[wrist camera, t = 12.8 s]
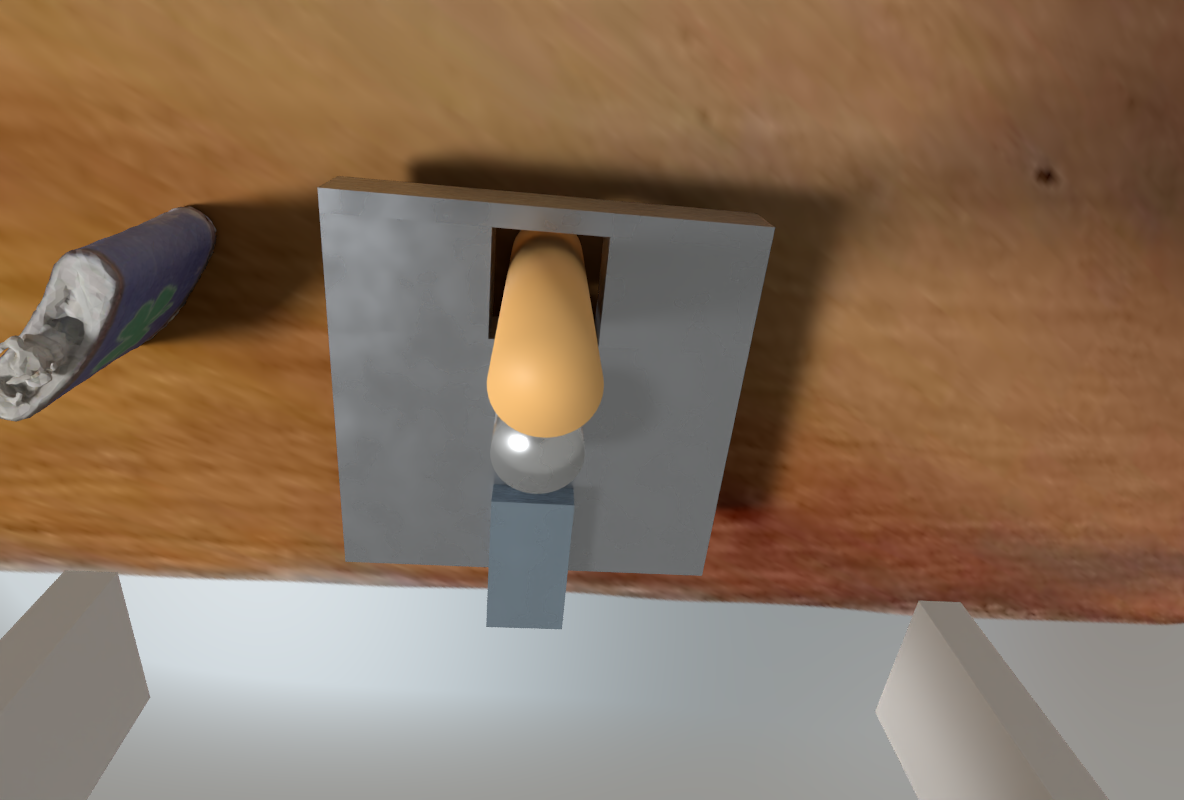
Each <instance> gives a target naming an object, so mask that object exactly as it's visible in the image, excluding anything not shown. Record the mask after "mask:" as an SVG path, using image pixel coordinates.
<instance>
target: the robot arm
mask: <svg viewBox="0 0 1184 800" xmlns="http://www.w3.org/2000/svg"><path fill="white" fill-rule="evenodd" d="M149 698H150V695H149V691H148V687H147V684H146V680H145V676H144V672H143V668H142V664H141V661H140V657H139V653H138V649H137V645H136V642H135V638H134V634H133V630H132V626H131V622H130V618H129V614H128V611H127V607H126V603H125V599H124V595H123V592H122V588H121V584H120V580H119V576H118V572H93V571H64V572H63V573H62V574H61V575H60V577H59V578H58V579H57V580H56V581H55V582H54V583H53V584H52V585H51V586H50V587H49V588H48V589H47V590H46V592H45V593H44V594H43V595H42V596H41V597H40V598H39V599H38V600H37V601H36V602H35V603H34V604H33V606H31V608H30V609H29V610H28V611H27V612H26V613H25V614H24V615H23V616H22V617H21V618H20V619H19V620H18V621H17V622H16V624H15V625H14V626H13V627H12V628H11V629H10V630H9V631H8V632H7V633H6V634H5V635H4V636H3V638H1V640H0V800H87V798H88V797H89V795H90V794H91V792H92V790H93V789H94V787H95V785H96V784H97V782H98V780H99V779H100V777H101V776H102V774H103V773H104V771H105V769H106V768H107V766H108V764H109V762H110V761H111V760H112V758H113V756H114V755H115V753H116V752H117V750H118V748H119V747H120V745H121V743H122V742H123V740H124V739H125V737H126V735H127V734H128V732H129V731H130V729H131V727H132V726H133V724H134V723H135V721H136V719H137V718H138V716H139V714H140V713H141V711H142V710H143V708H144V706H145V705H146V703H147V701H148V700H149ZM875 713H876V715H877V717H878V718H879V720H880V723H881V724H882V727H883V728H884V731H885V733H886V735H887V737H888V739H889V741H890V743H891V745H892V747H893V749H894V751H895V753H896V755H897V757H898V759H899V761H900V763H901V765H902V767H903V769H904V771H905V773H906V775H907V777H908V779H909V781H910V783H911V785H912V787H913V789H914V791H915V793H916V795H917V797H918V799H919V800H1109V799H1108V798H1107V796H1106V795H1105V794H1104V792H1103V791H1102V790H1101V788H1100V787H1099V786H1098V784H1097V783H1096V782H1095V780H1094V779H1093V778H1092V777H1091V775H1090V774H1089V772H1088V771H1087V770H1086V768H1085V767H1084V766H1083V764H1081V762H1080V761H1079V759H1078V758H1077V757H1076V755H1075V754H1074V753H1073V751H1072V750H1071V749H1070V747H1069V746H1068V745H1067V743H1066V742H1065V741H1064V739H1063V738H1062V737H1061V735H1060V734H1059V733H1058V731H1057V730H1056V729H1055V727H1054V726H1053V725H1052V723H1051V722H1050V721H1049V720H1048V718H1047V717H1046V715H1045V714H1044V713H1043V712H1042V710H1041V709H1040V707H1039V706H1038V705H1037V703H1036V702H1035V701H1034V700H1033V698H1032V697H1031V695H1030V694H1029V693H1028V692H1027V690H1026V689H1025V687H1024V686H1023V685H1022V683H1021V682H1020V681H1019V680H1018V678H1017V677H1016V675H1015V674H1014V673H1013V671H1012V670H1011V669H1010V668H1009V666H1008V665H1007V664H1006V662H1005V661H1004V660H1003V658H1002V657H1001V656H1000V654H999V653H998V652H997V650H996V649H995V648H994V646H993V645H992V644H991V642H990V641H989V640H988V638H987V637H986V636H985V634H984V633H983V632H982V630H981V629H980V628H979V626H978V625H977V624H976V622H975V621H974V620H973V618H972V617H971V616H970V614H969V613H968V612H967V610H966V609H965V608H964V606H963V605H962V604H961V602H936V601H918V604H917V607H916V609H915V612H914V614H913V617H912V619H911V622H910V624H909V627H908V629H907V632H906V634H905V638H904V640H903V642H902V645H901V647H900V650H899V652H898V655H897V657H896V660H895V663H894V665H893V667H892V670H891V673H890V675H889V678H888V680H887V683H886V686H885V688H884V691H883V693H882V695H881V698H880V700H879V703H878V706H877V708H876V711H875Z"/></svg>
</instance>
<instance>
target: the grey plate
mask: <svg viewBox="0 0 1184 800" xmlns="http://www.w3.org/2000/svg"><path fill="white" fill-rule="evenodd" d="M318 201H319V214H320V227H321V241H322V254H323V267H324V281H325V294H326V307H327V321H328V334H329V347H330V361H331V374H332V387H333V401H334V414H335V427H336V440H337V454H338V467H339V480H340V494H341V507H342V520H343V534H344V547H345V560H346V562H370V563H396V564H421V565H447V566H472V567H489V573H488V600H487V627H509V628H512V627H513V628H541V629H562V621H563V612H564V602H565V592H566V582H567V573H568V570H573V571H599V572H624V573H650V574H675V575H700V576H702V573H703V568H704V563H705V558H706V554H707V549H708V544H709V539H710V535H711V530H712V525H713V520H714V516H715V511H716V506H717V501H718V497H719V492H720V487H721V482H722V478H723V473H724V468H725V463H726V459H727V454H728V449H729V444H730V440H731V435H732V430H733V425H734V421H735V416H736V411H737V406H738V402H739V397H740V392H741V387H742V383H743V378H744V373H745V368H746V364H747V359H748V354H749V349H750V345H751V340H752V335H753V330H754V326H755V321H756V316H757V311H758V307H759V302H760V297H761V292H762V288H763V283H764V278H765V273H766V269H767V264H768V259H769V254H770V250H771V245H772V240H773V235H774V231H775V227H774V226H773V225H771V224H770V223H769V222H767V221H766V220H765V219H763V218H762V217H761V216H759V215H758V214H757V213H749V212H737V211H726V210H715V209H704V208H692V207H681V206H670V205H659V204H647V203H636V202H625V201H613V200H602V199H591V198H580V197H568V196H557V195H546V194H535V193H523V192H512V191H501V190H490V189H478V188H467V187H456V186H445V185H433V184H422V183H411V182H399V181H388V180H377V179H366V178H354V177H343V176H337V177H335V178H333V179H332V180H330V181H328V182H326V183H325V184H323V185H321V186H319V187H318ZM496 228H508V229H520V230H532V231H544V232H555V233H567V234H579V235H591V236H603V237H604V239H603V249H602V259H601V268H600V278H599V288H598V297H597V307H596V317H595V324H594V325H595V331H596V337H597V343H598V349H599V355H600V361H601V367H602V373H603V380H604V391H603V396H602V399H601V402H600V405H599V407H598V409H597V411H596V412H595V413H594V415H593V416H592V417H591V418H590V420H589V421H588V422H586V423H585V424H584V425H583V426H581V427H580V428H578V429H577V430H575V431H573V432H571V433H568V434H565V435H562V436H557V437H550V438H542V437H534V436H529V435H526V434H523V433H520V432H518V431H516V430H514V429H513V428H511V427H510V426H508V425H507V424H506V423H505V422H503V421H502V420H501V418H500V417H499V416H498V415H497V414H496V412H495V411H494V409H493V407H492V405H491V403H490V400H489V397H488V392H487V377H488V371H489V366H490V361H491V356H492V351H493V346H494V340H495V335H496V330H497V325H498V320H499V317H496V316H493V303H494V275H495V246H496Z"/></svg>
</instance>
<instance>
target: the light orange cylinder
mask: <svg viewBox="0 0 1184 800" xmlns="http://www.w3.org/2000/svg"><path fill="white" fill-rule="evenodd" d="M603 391H604V380H603V373H602V367H601V361H600V355H599V349H598V343H597V337H596V331H595V325H594V319H593V313H592V307H591V301H590V295H589V289H588V282H587V276H586V270H585V264H584V258H583V252H582V247H581V243H580V240H579V238H578V236H577V235H576V234H567V233H555V232H544V231H532V230H521V231H520V232H519V233H518V235H517V236H516V238H515V241H514V244H513V248H512V253H511V258H510V263H509V268H508V274H507V279H506V284H505V289H504V294H503V299H502V304H501V310H500V315H499V320H498V325H497V330H496V335H495V340H494V346H493V351H492V356H491V361H490V366H489V371H488V377H487V392H488V397H489V400H490V403H491V405H492V407H493V409H494V411H495V412H496V414H497V415H498V416H499V417H500V418H501V420H502V421H503V422H505V423H506V424H507V425H508V426H510V427H511V428H513V429H514V430H516V431H518V432H520V433H523V434H526V435H529V436H534V437H542V438H550V437H557V436H562V435H565V434H568V433H571V432H573V431H575V430H577V429H578V428H580V427H581V426H583V425H584V424H585V423H586V422H588V421H589V420H590V418H591V417H592V416H593V415H594V413H595V412H596V411H597V409H598V407H599V405H600V402H601V399H602V396H603Z"/></svg>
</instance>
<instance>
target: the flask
mask: <svg viewBox="0 0 1184 800" xmlns="http://www.w3.org/2000/svg"><path fill="white" fill-rule="evenodd" d="M205 217H206V218H207V219H208V221H209V222H208V221H207V220H206V218H205ZM215 233H216V228H215V227H214V225H213V223H212V221H211V220H210V219H209V218H208V217H207V216H206V215H205V214H203V213H202V212H201V211H198V210H196V209H194V208H192V207H178V208H174V209H172V210H170V211H169V212H166V213H163V214H161V215H159V216H157V217H155V218H153V219H151V220H149V221H146V222H144V223H142V224H140V225H138V226H135V227H132V228H129V229H127V230H125V231H123V232H121V233H118V234H116V235H113V236H110V237H108V238H104V239H101V240H98V241H96V242H94V243H92V244H90V245H87V246H85V247H82V248H78V249H75V250H71V251H69V252H67V253H65V254H64V255H63V256H62V257H61V258H60V259H59V260H58V262H57V263H55V264H54V266H53V269H52V272H51V276H50V279H49V282H48V284H47V286H46V291H45V293H44V296H43V299H42V301H41V302H40V304H39V305H38V306H37V310H36V311H34V312H33V314H32V317H31V319H30V321H29V322H28V324H27V325H26V327H25V328H24V330H23V331H22V333H21V334H20V335H19V336H12V337H10V338H8V339H7V340H6V341H5V342H3V343H0V353H1V352H2V351H3V350H5V349H6V348H9V349H8V350H7V351H6V352H5V353H4V354H3V355H2V356H1V357H0V418H1V419H5V420H11V421H19V420H22V419H26V418H30V417H32V416H33V415H34V414H36V413H38V412H40V411H41V410H42V409H44V408H45V407H47V406H48V405H49V404H51V403H52V402H54V401H55V400H56V399H58V398H60V397H61V396H62V395H64V394H65V393H67V392H68V391H70V390H71V389H72V388H74V387H75V386H77V385H79V384H80V383H82V382H83V381H85V380H87V379H88V378H90V377H91V376H92V375H94V374H95V373H96V372H98V371H99V370H101V369H103V368H104V367H106V366H107V365H109V364H110V363H111V362H113V361H114V360H116V359H117V358H119V357H121V356H123V355H124V354H126V353H128V352H129V351H131V350H133V349H135V348H138V347H139V346H140V345H142V344H143V343H144V342H146V341H148V340H150V339H152V338H153V337H154V335H156V334H157V333H158V332H159V331H160V330H161V329H163V328H164V327H166V326H167V325H168V322H169V321H170V320H172V319H174V316H176V315H177V314H178V313H179V310H180V309H181V308H182V307H183V306H184V305H185V304H186V300H187V298H188V296H189V294H190V293H191V292H192V290H193V288H194V287H195V284H196V283H197V282H198V279H200V277H201V273H203V271H204V269H206V268H205V267H206V266H207V264H208V260H209V259H210V258H211V256H212V253H214V252H213V250H214V245H215V243H216V235H215Z"/></svg>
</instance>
